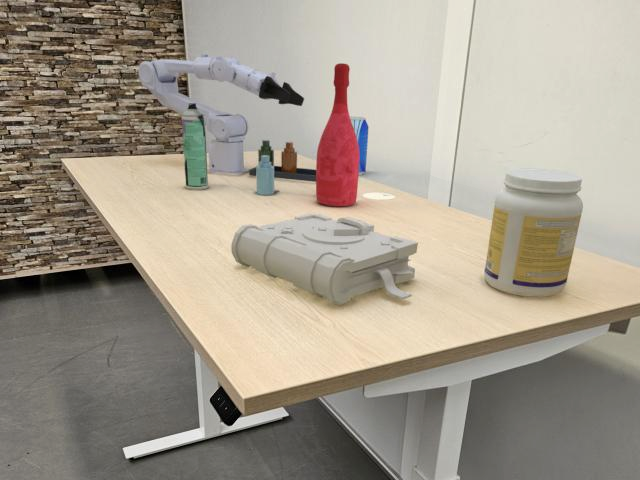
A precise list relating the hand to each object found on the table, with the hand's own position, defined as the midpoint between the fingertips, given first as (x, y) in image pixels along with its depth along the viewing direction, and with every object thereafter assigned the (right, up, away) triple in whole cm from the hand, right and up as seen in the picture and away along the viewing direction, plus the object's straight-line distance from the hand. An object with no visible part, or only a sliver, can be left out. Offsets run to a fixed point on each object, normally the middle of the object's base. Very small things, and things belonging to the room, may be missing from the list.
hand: (295, 99), depth 148 cm
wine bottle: (+10, -30, -13) cm, 34 cm away
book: (+9, -51, -59) cm, 79 cm away
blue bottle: (-7, -25, -6) cm, 27 cm away
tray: (-2, -17, +14) cm, 22 cm away
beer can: (+15, -14, +21) cm, 30 cm away
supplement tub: (+38, -52, -59) cm, 88 cm away
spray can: (-25, -23, -3) cm, 34 cm away
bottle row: (-6, -15, +15) cm, 22 cm away
